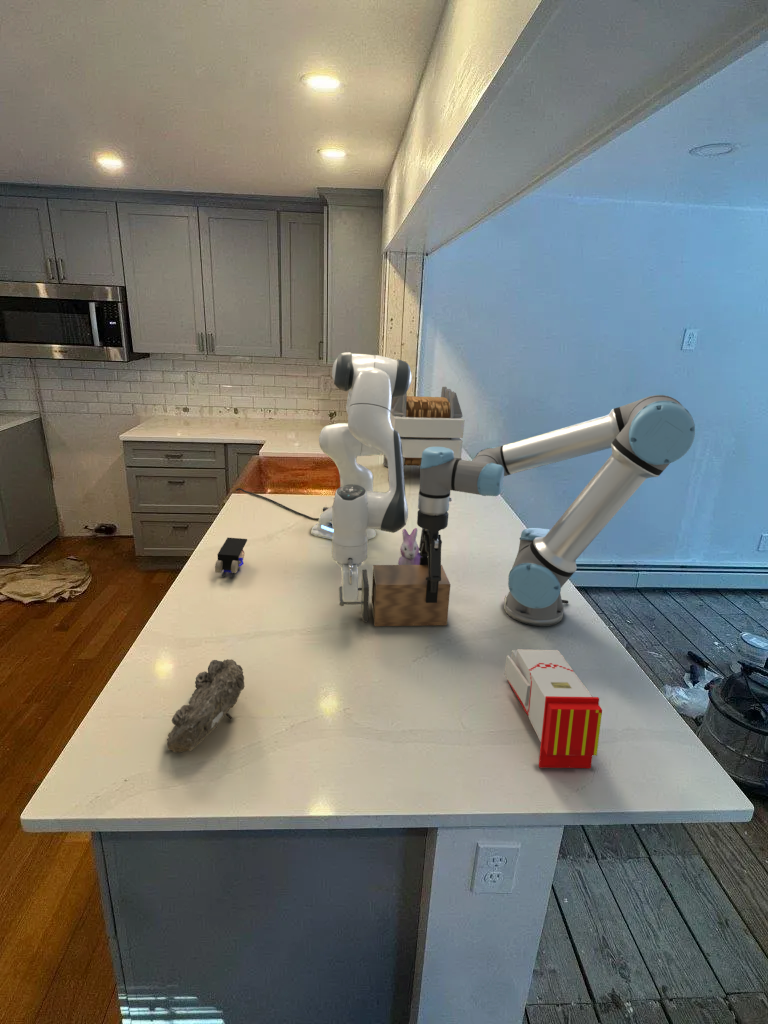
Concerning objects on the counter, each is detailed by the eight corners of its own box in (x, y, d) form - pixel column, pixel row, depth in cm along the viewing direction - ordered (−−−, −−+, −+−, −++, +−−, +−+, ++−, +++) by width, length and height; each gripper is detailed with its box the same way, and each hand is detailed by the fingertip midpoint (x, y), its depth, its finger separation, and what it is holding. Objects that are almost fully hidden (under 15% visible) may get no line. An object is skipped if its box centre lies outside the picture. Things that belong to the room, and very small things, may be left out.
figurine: (405, 586, 162) (408, 538, 157) (388, 572, 170) (390, 525, 165) (433, 580, 166) (436, 533, 161) (415, 566, 174) (418, 521, 169)
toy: (554, 631, 124) (612, 705, 95) (548, 687, 127) (603, 776, 98) (499, 630, 124) (540, 704, 94) (495, 686, 126) (533, 775, 97)
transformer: (382, 463, 289) (386, 382, 275) (445, 464, 293) (451, 384, 279) (390, 482, 257) (394, 392, 243) (460, 483, 261) (468, 394, 247)
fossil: (192, 660, 117) (244, 628, 112) (224, 691, 120) (276, 661, 115) (142, 746, 98) (202, 712, 93) (182, 779, 101) (242, 748, 96)
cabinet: (374, 626, 141) (376, 584, 137) (371, 604, 152) (373, 564, 148) (446, 625, 143) (450, 584, 139) (438, 603, 154) (442, 564, 150)
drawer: (339, 621, 141) (339, 587, 137) (338, 602, 150) (339, 569, 147) (430, 620, 143) (432, 586, 140) (423, 601, 152) (426, 569, 149)
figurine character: (238, 584, 162) (249, 557, 175) (236, 562, 158) (247, 536, 172) (215, 584, 161) (227, 556, 175) (212, 561, 158) (225, 535, 171)
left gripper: (364, 569, 130) (363, 621, 135) (360, 535, 150) (358, 582, 154) (337, 569, 130) (336, 621, 135) (336, 535, 149) (335, 582, 154)
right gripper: (458, 528, 128) (450, 613, 135) (439, 495, 150) (433, 570, 157) (425, 528, 127) (419, 614, 134) (411, 495, 149) (407, 570, 156)
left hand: (348, 600), depth 145 cm, fingers closed
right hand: (427, 590), depth 146 cm, fingers closed on cabinet, 11 cm apart
